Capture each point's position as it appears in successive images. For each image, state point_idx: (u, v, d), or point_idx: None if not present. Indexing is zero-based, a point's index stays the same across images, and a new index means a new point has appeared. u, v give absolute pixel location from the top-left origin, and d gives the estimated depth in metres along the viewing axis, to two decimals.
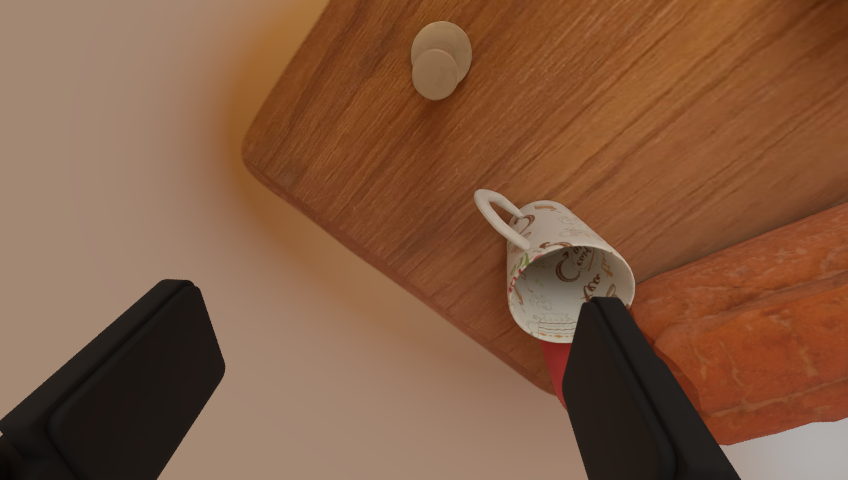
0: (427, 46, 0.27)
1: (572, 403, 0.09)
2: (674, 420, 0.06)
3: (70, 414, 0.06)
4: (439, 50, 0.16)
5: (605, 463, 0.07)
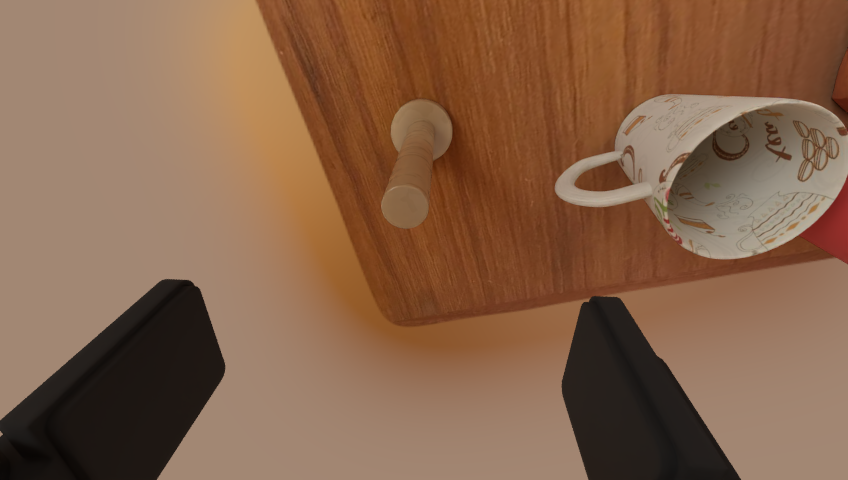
0: None
1: (572, 403, 0.09)
2: (674, 420, 0.06)
3: (70, 414, 0.06)
4: (387, 192, 0.16)
5: (605, 463, 0.07)
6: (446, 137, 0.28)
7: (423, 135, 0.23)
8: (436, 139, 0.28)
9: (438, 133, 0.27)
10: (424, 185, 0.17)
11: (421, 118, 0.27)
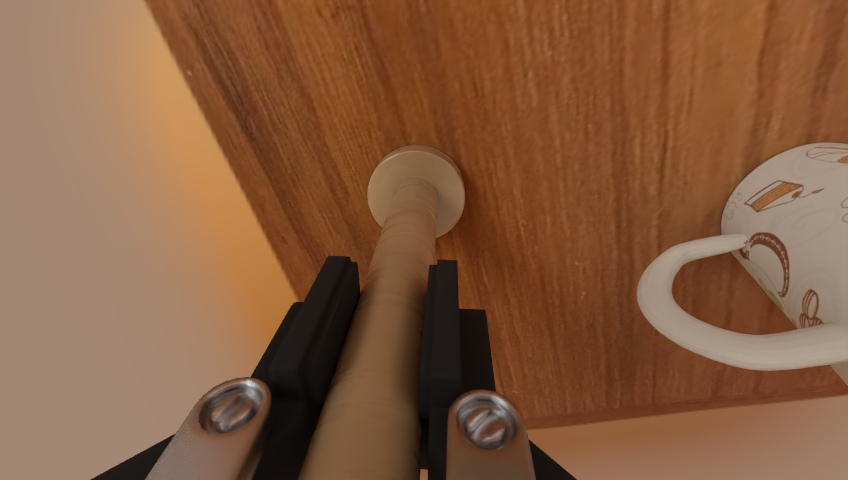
0: None
1: None
2: (441, 346, 0.07)
3: (314, 363, 0.07)
4: None
5: None
6: (455, 206, 0.17)
7: (416, 225, 0.13)
8: (439, 208, 0.17)
9: (443, 200, 0.17)
10: (406, 444, 0.06)
11: (415, 178, 0.17)
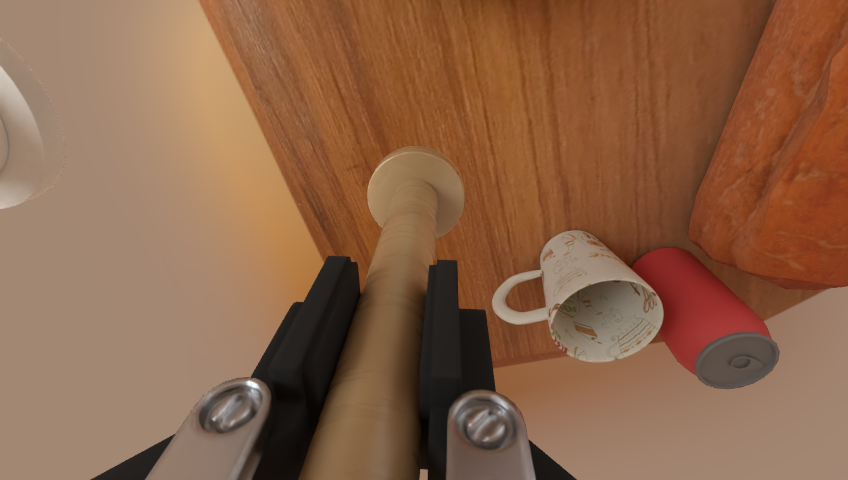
0: None
1: None
2: (440, 346, 0.07)
3: (314, 363, 0.07)
4: None
5: None
6: (455, 207, 0.17)
7: (416, 226, 0.13)
8: (439, 209, 0.17)
9: (443, 201, 0.17)
10: (406, 445, 0.06)
11: (415, 179, 0.17)
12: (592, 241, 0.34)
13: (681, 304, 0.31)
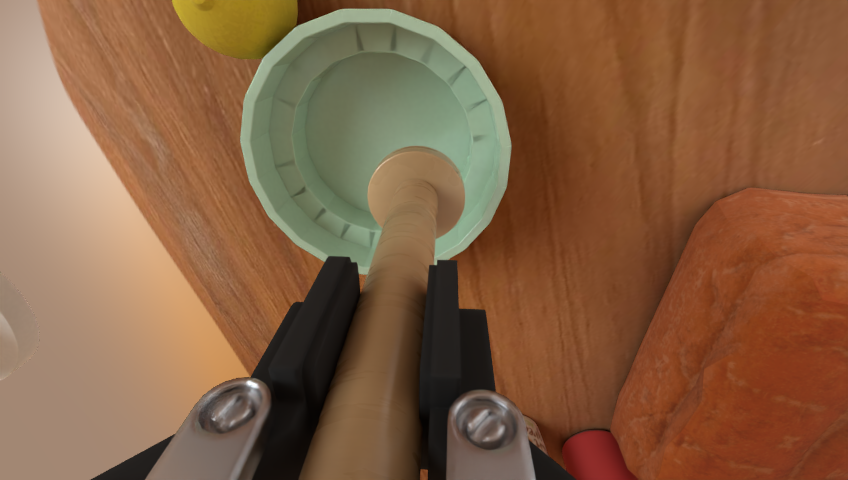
0: None
1: None
2: (441, 346, 0.07)
3: (314, 363, 0.07)
4: None
5: None
6: (455, 206, 0.17)
7: (416, 226, 0.13)
8: (439, 209, 0.17)
9: (443, 201, 0.17)
10: (406, 446, 0.06)
11: (415, 178, 0.17)
12: None
13: None
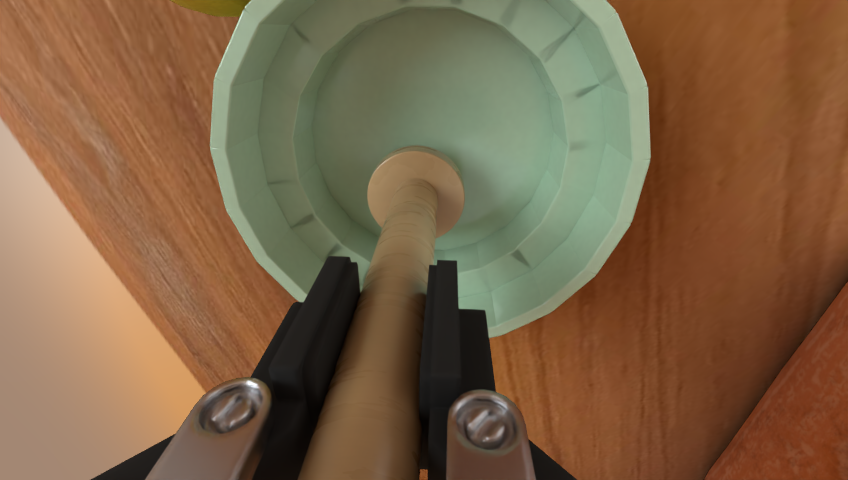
0: None
1: None
2: (440, 346, 0.07)
3: (314, 363, 0.07)
4: None
5: None
6: (455, 206, 0.17)
7: (415, 226, 0.13)
8: (439, 209, 0.17)
9: (443, 200, 0.17)
10: (406, 445, 0.06)
11: (415, 178, 0.17)
12: None
13: None
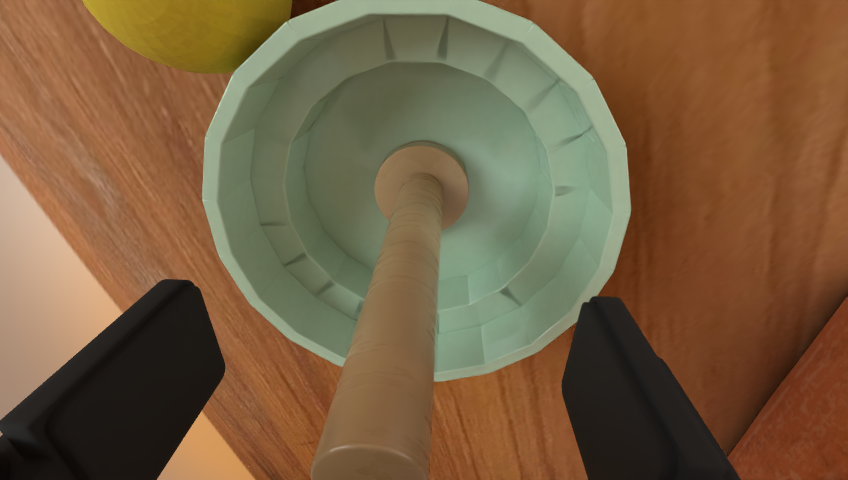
0: None
1: (572, 403, 0.09)
2: (674, 420, 0.06)
3: (70, 414, 0.06)
4: (324, 453, 0.06)
5: (605, 463, 0.07)
6: (460, 199, 0.18)
7: (423, 216, 0.13)
8: (444, 202, 0.18)
9: (448, 193, 0.18)
10: (419, 410, 0.07)
11: (421, 172, 0.17)
12: None
13: None
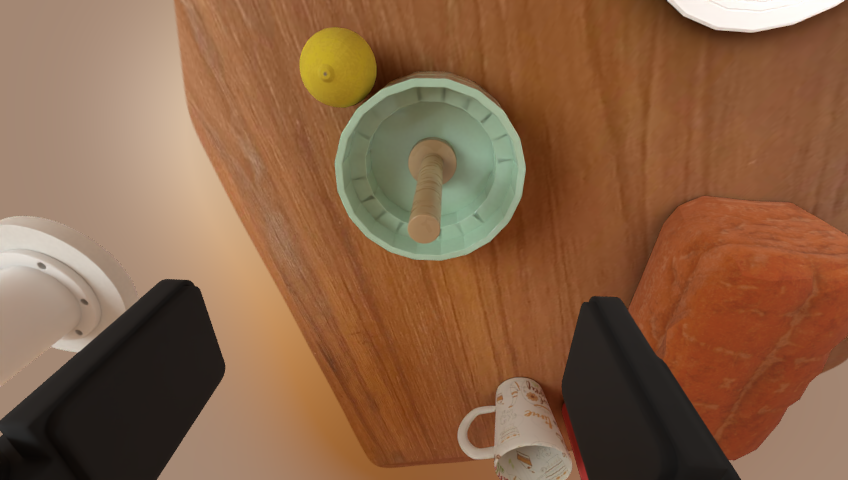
0: (420, 168, 0.35)
1: (572, 403, 0.09)
2: (674, 420, 0.06)
3: (70, 414, 0.06)
4: (412, 219, 0.23)
5: (605, 463, 0.07)
6: (452, 167, 0.35)
7: (434, 170, 0.30)
8: (444, 168, 0.35)
9: (445, 164, 0.35)
10: (437, 213, 0.24)
11: (432, 153, 0.34)
12: (530, 394, 0.47)
13: None
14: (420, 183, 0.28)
